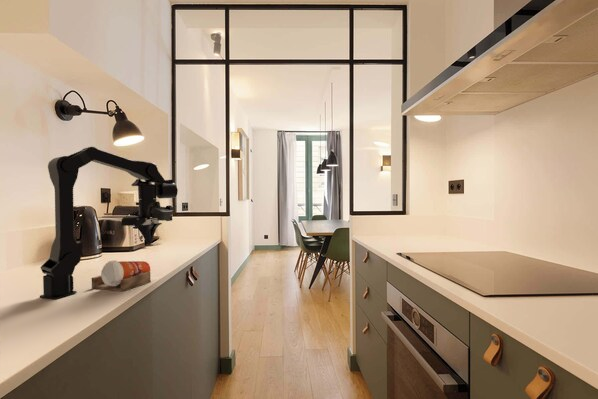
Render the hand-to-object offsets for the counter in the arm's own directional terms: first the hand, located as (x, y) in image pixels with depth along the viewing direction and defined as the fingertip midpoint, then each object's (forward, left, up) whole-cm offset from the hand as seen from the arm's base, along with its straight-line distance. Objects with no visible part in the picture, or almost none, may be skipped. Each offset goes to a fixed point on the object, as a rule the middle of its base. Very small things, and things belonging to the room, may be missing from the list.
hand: (149, 243), depth 122 cm
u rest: (-12, 0, -11) cm, 17 cm away
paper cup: (-4, -1, -8) cm, 9 cm away
